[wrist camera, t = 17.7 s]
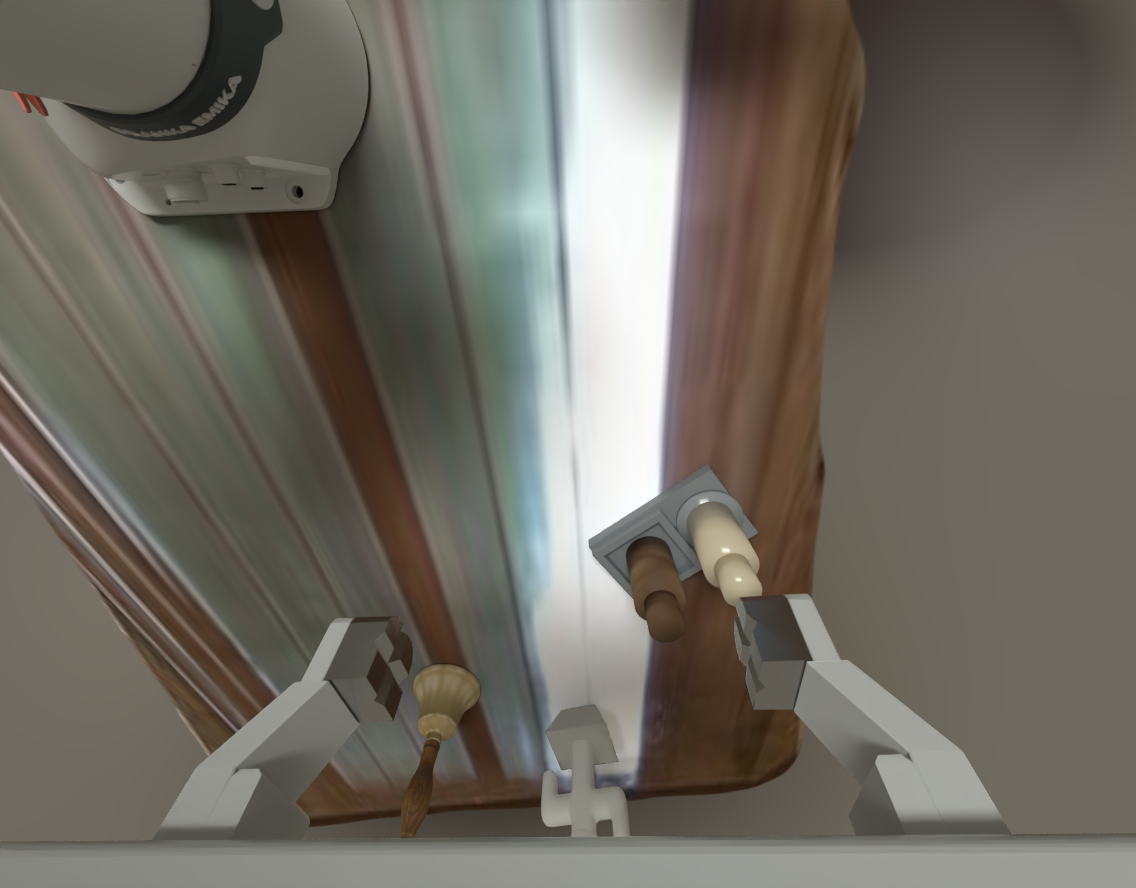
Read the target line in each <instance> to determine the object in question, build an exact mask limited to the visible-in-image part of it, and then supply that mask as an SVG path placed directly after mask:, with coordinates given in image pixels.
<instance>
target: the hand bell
mask: <svg viewBox="0 0 1136 888" xmlns="http://www.w3.org/2000/svg"><path fill="white" fill-rule="evenodd" d="M413 691H414V694H415V697H416V698H417V700H418V701H419V704H420V711H419V719H418V724H417V727H418V730H419V732H420V734H421V735H422V736H424V737H425V738H426V741H425V743H424V749H423V752H422V756H421V760H420V764H419V767H418V769H417V771H416V773H415V775H414V776H413V778H412V780H411V781H410V783H409V786H408V788H407V791H406V793H405V797H404V800H403V804H402V810H401V834H400V838H414V836H415V834H416V832H417V830H418V828H419V827H420V825H421V823H422V821H423V820H424V818H425V816H426V813H427V811H428V808H429V804H430V800H431V795H432V786H433V768H434V764H435V760H436V757H437V754H438V751H439V748H440V744H441V741H443V740H447V739H449V738H451V737H452V736H453V735H454V734H455V732H456V730H457V726H458V724H459V721H460V719H461V717H462V715H463V713H464V712H465V711H466V710H468V709H470V708H471V707H472V706H473V705H474V704H475V703H476V702H477V701H478V699H479V697H480V694H481V687H480V684H479V682H478V680H477V679H476V677H475V676H474V675H473V674H472V673H470V672H469V671H468V670H466V669H464V668H462V667H459V666H456V665H450V664H437V665H432V666H429V667H426V668H424V669H423V670H421V671H420V672H419V673H418V674H417V675H416V677H415V679H414V681H413Z"/></svg>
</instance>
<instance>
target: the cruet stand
mask: <svg viewBox="0 0 1136 888" xmlns="http://www.w3.org/2000/svg"><path fill="white" fill-rule="evenodd" d="M756 534H758V532H757V530H756V528H755V527H754V525H753V524H752V522H751V521H750V520H749V518H748V517H747V516H746V514H745V513H744V512H743V510H742V508H741V506H740V505H739V503H738V502H737V500H736V499H735V498H734V497H733V496H731V494H730V493H729V492H728V490H727V489H726V488H725V486H724V485H723V484H722V482H721V481H720V480H719V478H718V477H717V476H716V474H715V473H714V472H713V470H712V469H711V468H710V466H709V465H708V464H707V465H705V466H704V467H702V468H701V469H699V470H697V471H696V472H694V473H693V474H691V475H690V476H688V477H686V478H685V479H683V480H682V481H680V482H679V483H677V484H676V485H674V486H672V487H671V488H669V489H668V490H666V491H665V492H663V493H661V494H660V495H658V496H657V497H655V498H654V499H652V500H650V501H649V502H647V503H646V504H644V505H643V506H641V507H640V508H638V509H636V510H635V511H633V512H632V513H630V514H629V515H627V516H625V517H624V518H622V519H621V520H619V521H618V522H616V523H614V524H613V525H611V526H610V527H608V528H607V529H605V530H604V531H602V532H600V533H599V534H597V535H596V536H594V537H593V538H591V539H589V548H590V549H591V550H592V555H593V556H594V557H595V558H596V559H597V561H598V562H599V563H600V564H601V565H602V566H603V567H604V568H605V569H606V570H607V571H608V572H609V573H610V575H611V576H612V577H613V578H614V579H615V580H616V581H617V582H618V583H619V584H620V585H621V586H622V587H623V589H624V590H625V591H626V592H627V593H628V594H629V595H630V596H631V597H632V598H633V594H632V589H631V583H630V578H629V573H628V567H627V562H626V551H627V548H628V547H629V545H630V544H631V543H632V542H633V541H635V540H636V539H638V538H641V537H645V536H654V537H658V538H661V539H662V540H664V541H665V542H666V543H667V544H668V545H669V548H670V551H671V554H672V557H673V560H674V563H675V566H676V569H677V572H678V575H679V578H680V581H683V580H685V579H686V578H688V577H690V576H692V575H693V574H695V573H697V572H698V571H700V570H702V569H703V572H704V574H705V577H706V579H707V580H708V582H709V583H710V584H712V585H713V586H715V587H717V588H720V589H721V591H722V594H723V596H724V598H725V600H726V602H727V603H729V604H730V605H732V606H735V607H736V606H737V600H738V598H739V597H750V596H761V594H762V586H761V584H760V582H759V580H758V578H757V576H756V574H757V572H758V570H759V559H758V557H757V555H756V553H755V551H754V550H753V548H752V546H751V544H750V542H749V541H748V539H749V538H751V537H752V536H754V535H756Z"/></svg>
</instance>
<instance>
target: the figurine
mask: <svg viewBox="0 0 1136 888" xmlns="http://www.w3.org/2000/svg"><path fill="white" fill-rule="evenodd" d="M546 735H547V737H548V739H549V742H550V744H551V747H552V749H553V751H554V754H555V756H556V758H557V761H558V763H559V766H560V768H561V770H567V769H572V791H571V793H568V794H561V795H558V794H557V776H556V774H555V773H554V772H553V771H551V770H547V771H546V772H545V773H544V775H543V782H542V799H541V813H542V819H543V821H544V823H545V825H547V826H548V827H556V826H563V825H571V824H572V835H571V837H597V834H596V824H597V822H598V821H600V820H606V819H611V820H612V823H613V835H614V837H630V831H629V820H628V809H627V802H626V797H625V794H624V792H623V790H622V789H621V788H619V787H608V788H601V789H595V787H594V765H599V764H605V763H612V762H618V758H617V755H616V752H615V750H614V747H613V744H612V741H611V738H610V735H609V732H608V729H607V726H606V723H605V721H604V719H603V718H602V716H601V714H600V713H599V711H598V709H597V707H596V706H595V705H590V706H584V707H578V708H572V709H566V710H561V711H560V713H559V714H558V716H557V717H556V718H555V720H554V721H553V723H552V724H551V725H550V727H549V728H548V730H547V731H546Z"/></svg>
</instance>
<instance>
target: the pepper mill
mask: <svg viewBox="0 0 1136 888" xmlns="http://www.w3.org/2000/svg"><path fill="white" fill-rule="evenodd" d="M626 562H627V567H628V573H629V578H630V583H631V589H632V594H633V599H634V605H635V609H636V612H637V614H638V615H639V616H640V617H641V618H643V619H644V620H646V621H647V624H648V628H649V633H650V635H651V637H652V638H653V639H655V640H657V641H660V642H671V641H674V640H677V639H678V638H680V637H681V636H682V635H683V633H684V631H685V624H684V621H683V618H682V614H681V613H682V612H683V611H684V609H685V606H686V596H685V593H684V590H683V587H682V584H681V581H680V578H679V575H678V572H677V569H676V566H675V563H674V560H673V557H672V554H671V551H670V548H669V545H668V544H667V543H666V542H665V541H664V540H662V539H661V538H658V537H654V536H645V537H641V538H638V539H636V540H635V541H633V542H632V543H631V544H630V545H629V547H628V548H627V551H626Z"/></svg>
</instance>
